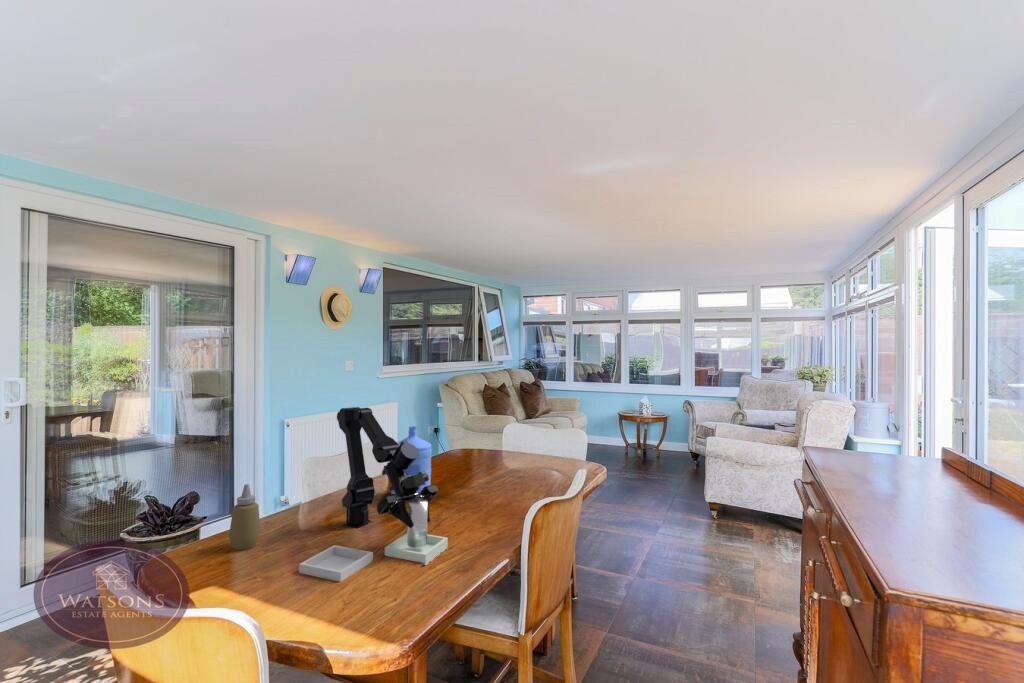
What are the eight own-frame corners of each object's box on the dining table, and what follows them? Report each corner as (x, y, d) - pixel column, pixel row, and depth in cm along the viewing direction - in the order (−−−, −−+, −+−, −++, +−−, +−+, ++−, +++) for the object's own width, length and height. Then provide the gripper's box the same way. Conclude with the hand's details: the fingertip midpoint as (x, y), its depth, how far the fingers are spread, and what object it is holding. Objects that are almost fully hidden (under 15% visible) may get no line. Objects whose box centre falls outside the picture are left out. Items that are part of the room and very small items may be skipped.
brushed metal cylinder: (408, 548, 132) (409, 504, 133) (406, 540, 138) (407, 498, 138) (428, 546, 134) (429, 503, 134) (425, 538, 139) (426, 497, 140)
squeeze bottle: (266, 543, 140) (268, 482, 141) (242, 554, 133) (245, 489, 133) (245, 539, 143) (248, 480, 144) (221, 549, 135) (224, 486, 136)
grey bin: (298, 575, 120) (299, 563, 121) (334, 555, 133) (334, 545, 133) (340, 584, 116) (340, 572, 116) (372, 563, 128) (373, 552, 128)
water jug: (412, 488, 201) (413, 423, 202) (438, 495, 192) (440, 426, 193) (382, 497, 189) (384, 427, 190) (409, 504, 179) (411, 431, 180)
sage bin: (384, 558, 132) (384, 547, 132) (409, 541, 144) (409, 531, 144) (425, 565, 127) (425, 554, 127) (447, 547, 140) (447, 537, 140)
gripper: (383, 467, 132) (405, 517, 125) (435, 458, 146) (458, 502, 138) (367, 490, 137) (387, 539, 130) (419, 478, 151) (440, 522, 143)
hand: (420, 524), depth 135 cm, fingers closed on brushed metal cylinder, 6 cm apart
